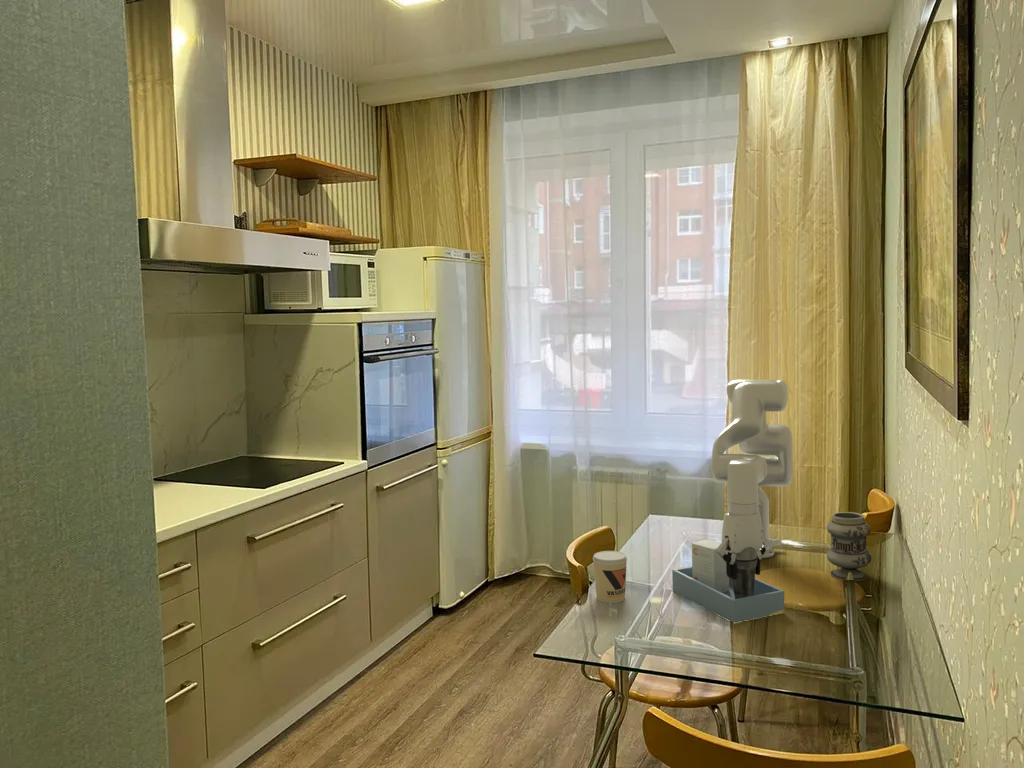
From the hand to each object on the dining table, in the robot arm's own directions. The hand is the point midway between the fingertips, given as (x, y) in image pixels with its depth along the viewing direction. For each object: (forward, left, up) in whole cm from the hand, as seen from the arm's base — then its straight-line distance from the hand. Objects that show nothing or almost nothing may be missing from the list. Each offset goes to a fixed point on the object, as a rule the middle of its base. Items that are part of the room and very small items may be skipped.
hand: (743, 575), depth 210 cm
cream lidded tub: (+26, -24, -10) cm, 37 cm away
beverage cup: (0, 0, -7) cm, 7 cm away
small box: (0, -14, -9) cm, 17 cm away
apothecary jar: (-44, -9, -10) cm, 46 cm away
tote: (0, -7, -10) cm, 12 cm away
